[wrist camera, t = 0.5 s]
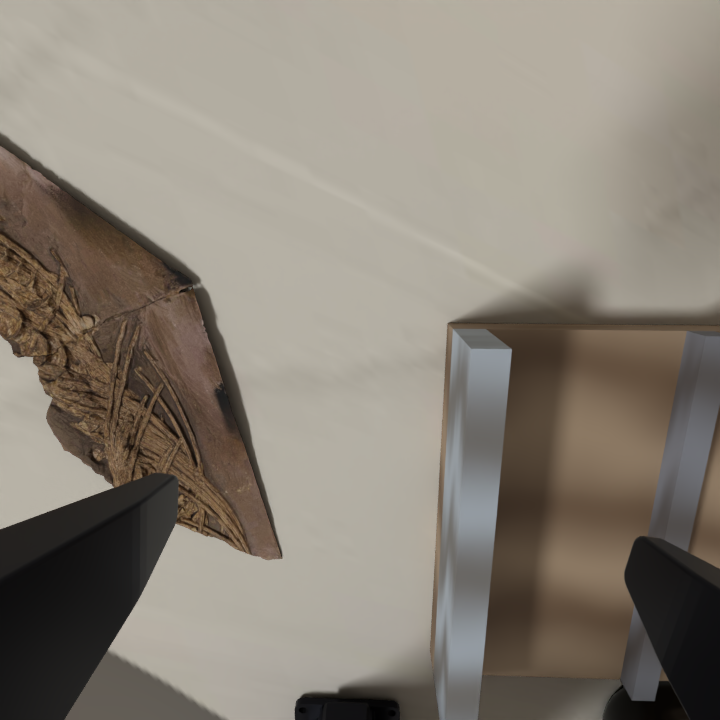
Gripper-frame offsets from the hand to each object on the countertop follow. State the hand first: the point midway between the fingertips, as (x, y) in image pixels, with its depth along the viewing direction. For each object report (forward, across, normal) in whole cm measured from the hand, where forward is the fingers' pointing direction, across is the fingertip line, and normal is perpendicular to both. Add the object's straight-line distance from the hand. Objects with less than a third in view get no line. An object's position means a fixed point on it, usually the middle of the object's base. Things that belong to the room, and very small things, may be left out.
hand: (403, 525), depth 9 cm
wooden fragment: (+15, +13, +3) cm, 20 cm away
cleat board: (+14, -12, +7) cm, 20 cm away
